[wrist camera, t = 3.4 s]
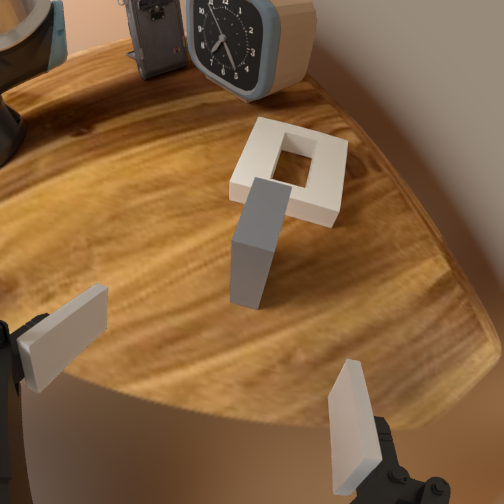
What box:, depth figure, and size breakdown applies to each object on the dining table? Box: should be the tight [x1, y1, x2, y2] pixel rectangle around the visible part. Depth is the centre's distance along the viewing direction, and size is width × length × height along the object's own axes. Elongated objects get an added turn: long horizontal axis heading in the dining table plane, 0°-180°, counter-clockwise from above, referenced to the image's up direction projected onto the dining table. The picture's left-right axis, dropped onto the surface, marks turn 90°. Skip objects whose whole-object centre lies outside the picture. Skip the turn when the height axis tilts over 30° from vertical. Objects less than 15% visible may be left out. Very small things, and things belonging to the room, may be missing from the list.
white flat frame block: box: [229, 117, 348, 228], centre depth 40 cm, size 13×13×4 cm
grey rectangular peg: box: [230, 177, 292, 310], centre depth 29 cm, size 3×6×13 cm, turn 165°
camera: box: [117, 0, 188, 80], centre depth 49 cm, size 11×17×20 cm, turn 32°
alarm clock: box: [186, 0, 317, 104], centre depth 43 cm, size 21×10×22 cm, turn 42°
